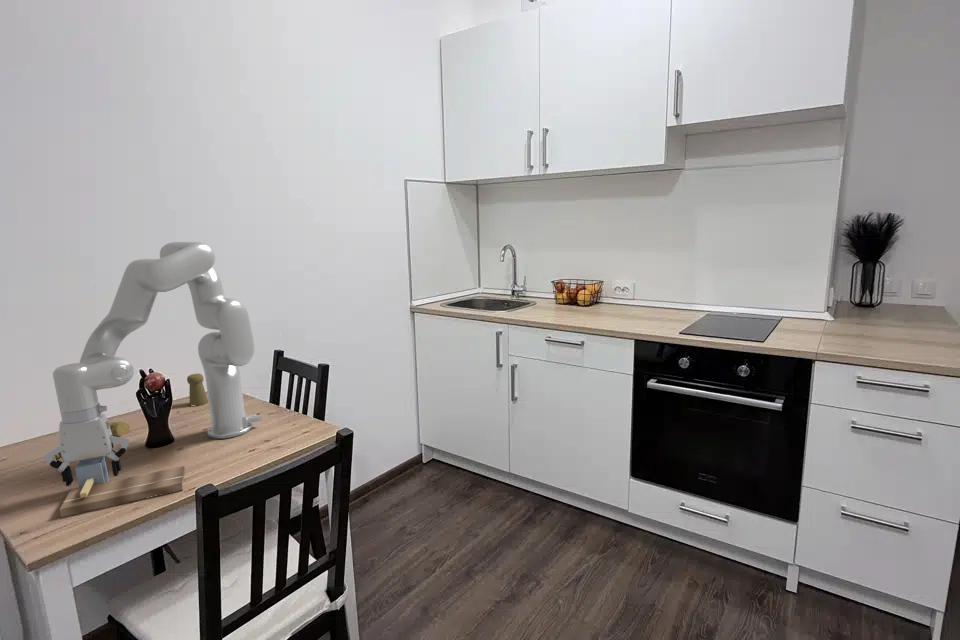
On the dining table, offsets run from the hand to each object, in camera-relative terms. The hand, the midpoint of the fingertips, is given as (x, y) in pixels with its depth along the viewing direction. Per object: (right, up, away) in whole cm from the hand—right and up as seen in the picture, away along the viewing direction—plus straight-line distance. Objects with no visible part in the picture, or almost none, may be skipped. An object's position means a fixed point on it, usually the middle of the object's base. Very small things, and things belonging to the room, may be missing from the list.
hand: (93, 478), depth 130 cm
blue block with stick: (+2, -3, -3) cm, 5 cm away
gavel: (-21, +2, +26) cm, 34 cm away
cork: (-6, +9, +59) cm, 60 cm away
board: (+11, -3, -3) cm, 12 cm away
